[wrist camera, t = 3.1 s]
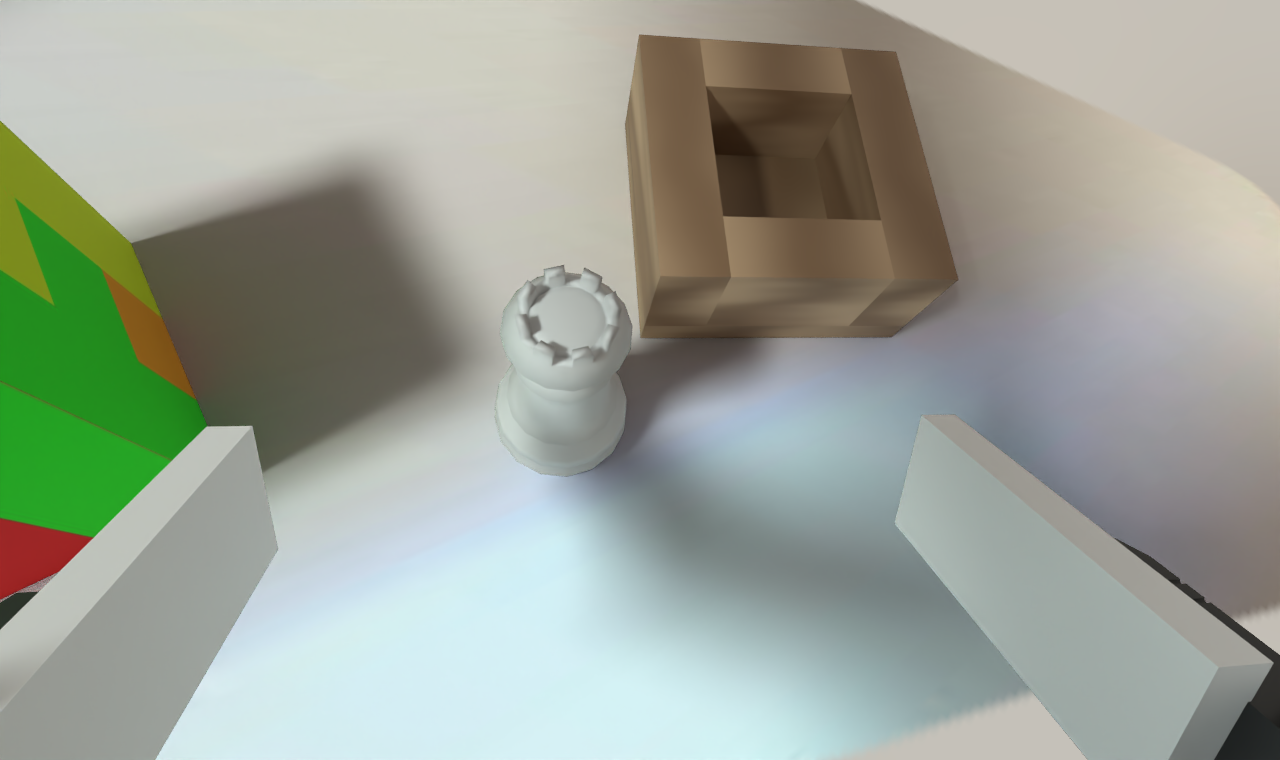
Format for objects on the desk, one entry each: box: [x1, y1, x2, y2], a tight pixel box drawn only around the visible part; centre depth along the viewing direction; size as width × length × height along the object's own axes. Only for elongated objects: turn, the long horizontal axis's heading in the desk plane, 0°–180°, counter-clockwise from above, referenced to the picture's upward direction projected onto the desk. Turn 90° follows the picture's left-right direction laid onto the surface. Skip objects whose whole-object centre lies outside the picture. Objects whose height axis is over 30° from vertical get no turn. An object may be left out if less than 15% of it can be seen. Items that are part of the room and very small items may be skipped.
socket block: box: [625, 35, 958, 338], centre depth 24 cm, size 10×10×4 cm
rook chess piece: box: [495, 265, 632, 477], centre depth 19 cm, size 4×4×8 cm
